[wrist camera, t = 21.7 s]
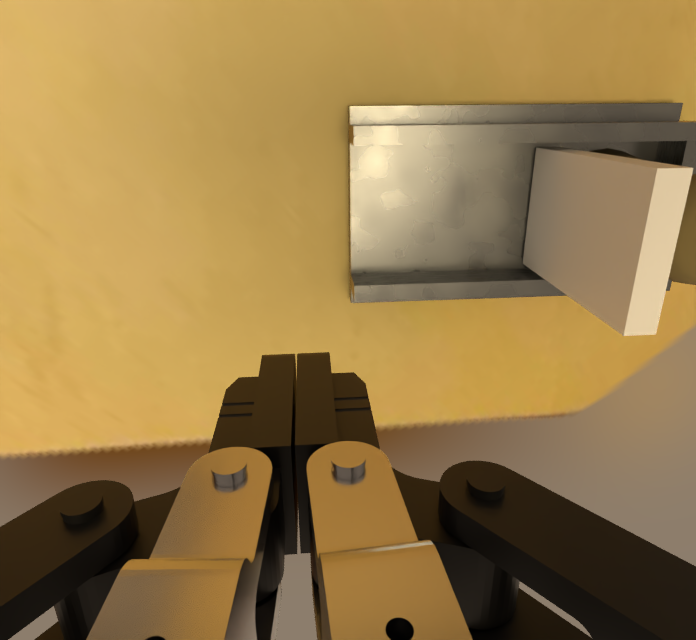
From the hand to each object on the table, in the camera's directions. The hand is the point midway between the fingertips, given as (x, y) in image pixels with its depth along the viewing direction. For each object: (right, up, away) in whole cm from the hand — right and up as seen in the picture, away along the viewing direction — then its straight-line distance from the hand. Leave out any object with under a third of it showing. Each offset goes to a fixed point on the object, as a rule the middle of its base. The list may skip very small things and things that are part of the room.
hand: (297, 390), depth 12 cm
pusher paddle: (+13, +9, +21) cm, 26 cm away
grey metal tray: (+11, +9, +22) cm, 26 cm away
